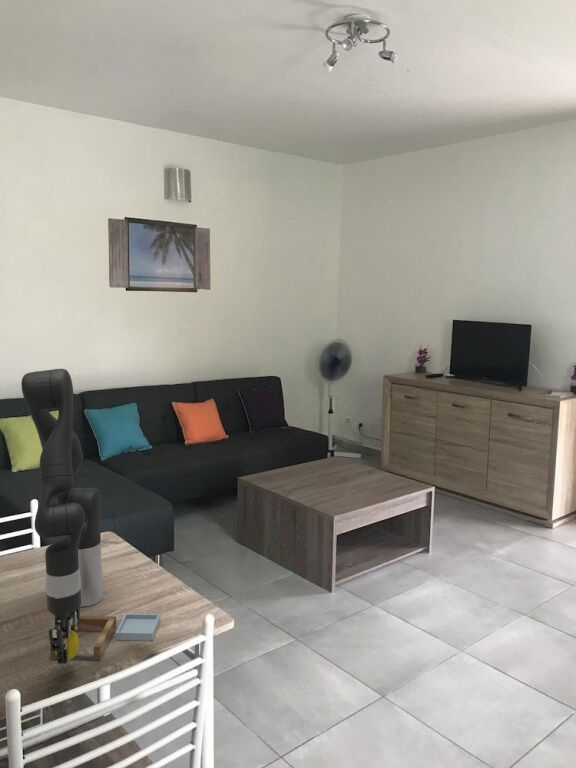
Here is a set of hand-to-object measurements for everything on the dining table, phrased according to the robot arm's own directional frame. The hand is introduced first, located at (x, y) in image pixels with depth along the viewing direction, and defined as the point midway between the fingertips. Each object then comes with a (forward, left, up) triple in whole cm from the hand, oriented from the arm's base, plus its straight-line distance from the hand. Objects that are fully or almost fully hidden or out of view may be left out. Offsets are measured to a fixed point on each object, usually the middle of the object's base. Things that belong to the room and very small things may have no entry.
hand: (67, 654), depth 147 cm
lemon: (0, 0, -2) cm, 2 cm away
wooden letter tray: (-13, 0, -5) cm, 14 cm away
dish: (-19, +12, -5) cm, 23 cm away
